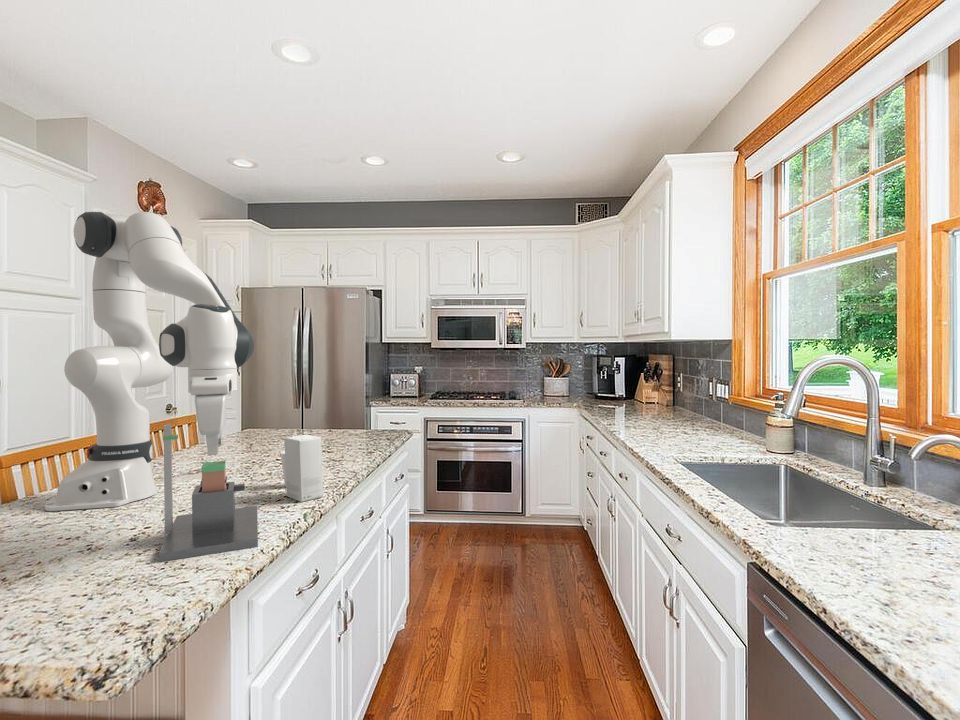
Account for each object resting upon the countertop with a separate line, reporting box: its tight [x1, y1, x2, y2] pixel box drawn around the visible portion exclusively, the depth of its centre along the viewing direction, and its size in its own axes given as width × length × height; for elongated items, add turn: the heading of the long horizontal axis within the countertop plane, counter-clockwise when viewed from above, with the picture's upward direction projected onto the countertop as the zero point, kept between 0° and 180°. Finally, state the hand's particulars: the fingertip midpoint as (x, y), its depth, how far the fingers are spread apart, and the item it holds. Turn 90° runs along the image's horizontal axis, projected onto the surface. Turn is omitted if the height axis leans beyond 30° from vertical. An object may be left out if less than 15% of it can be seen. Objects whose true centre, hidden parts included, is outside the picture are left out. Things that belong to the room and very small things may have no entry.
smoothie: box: [279, 435, 295, 488], centre depth 134 cm, size 6×6×14 cm
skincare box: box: [283, 434, 324, 503], centre depth 124 cm, size 8×7×16 cm
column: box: [200, 460, 228, 492], centre depth 99 cm, size 5×4×12 cm
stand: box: [158, 424, 259, 563], centre depth 99 cm, size 17×22×23 cm
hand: (214, 450), depth 99 cm, fingers open, 8 cm apart
